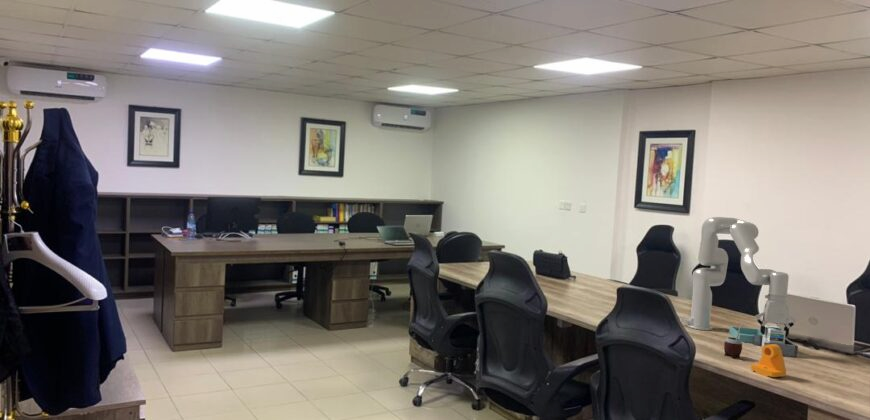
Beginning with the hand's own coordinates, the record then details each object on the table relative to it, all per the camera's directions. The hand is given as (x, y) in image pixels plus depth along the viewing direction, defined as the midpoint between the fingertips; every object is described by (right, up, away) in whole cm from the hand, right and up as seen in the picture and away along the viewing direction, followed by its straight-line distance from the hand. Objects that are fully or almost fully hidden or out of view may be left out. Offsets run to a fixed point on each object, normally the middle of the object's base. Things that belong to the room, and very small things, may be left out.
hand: (774, 335), depth 290 cm
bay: (0, -7, +1) cm, 7 cm away
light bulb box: (-1, -8, +1) cm, 8 cm away
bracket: (-24, -8, -39) cm, 46 cm away
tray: (-1, -6, +21) cm, 22 cm away
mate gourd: (-26, -7, -15) cm, 31 cm away
